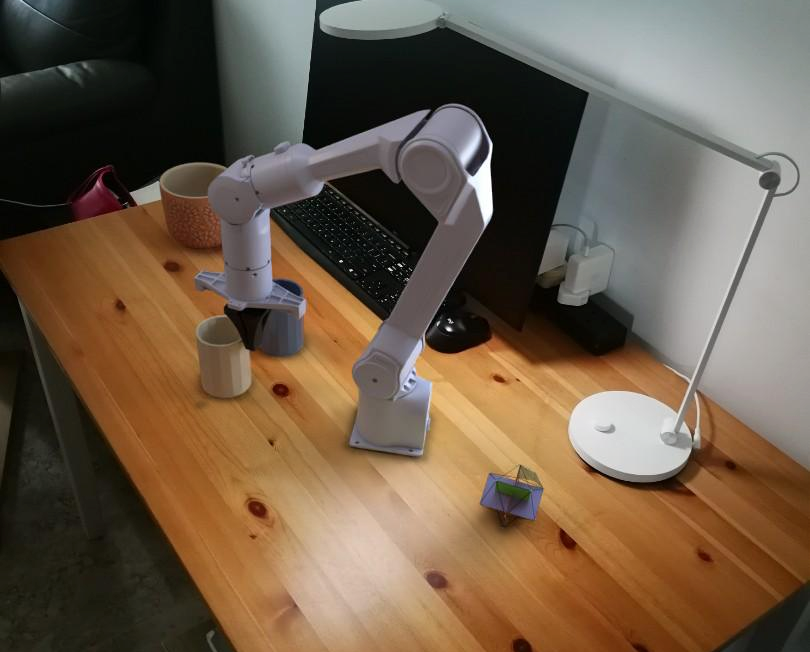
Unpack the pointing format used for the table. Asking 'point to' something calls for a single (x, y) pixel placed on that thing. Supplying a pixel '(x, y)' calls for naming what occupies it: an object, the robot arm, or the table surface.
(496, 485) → the geometric puzzle
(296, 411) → the table surface
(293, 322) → the blue cup
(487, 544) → the table surface
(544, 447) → the table surface
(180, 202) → the planter
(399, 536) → the table surface
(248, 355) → the cream cup
